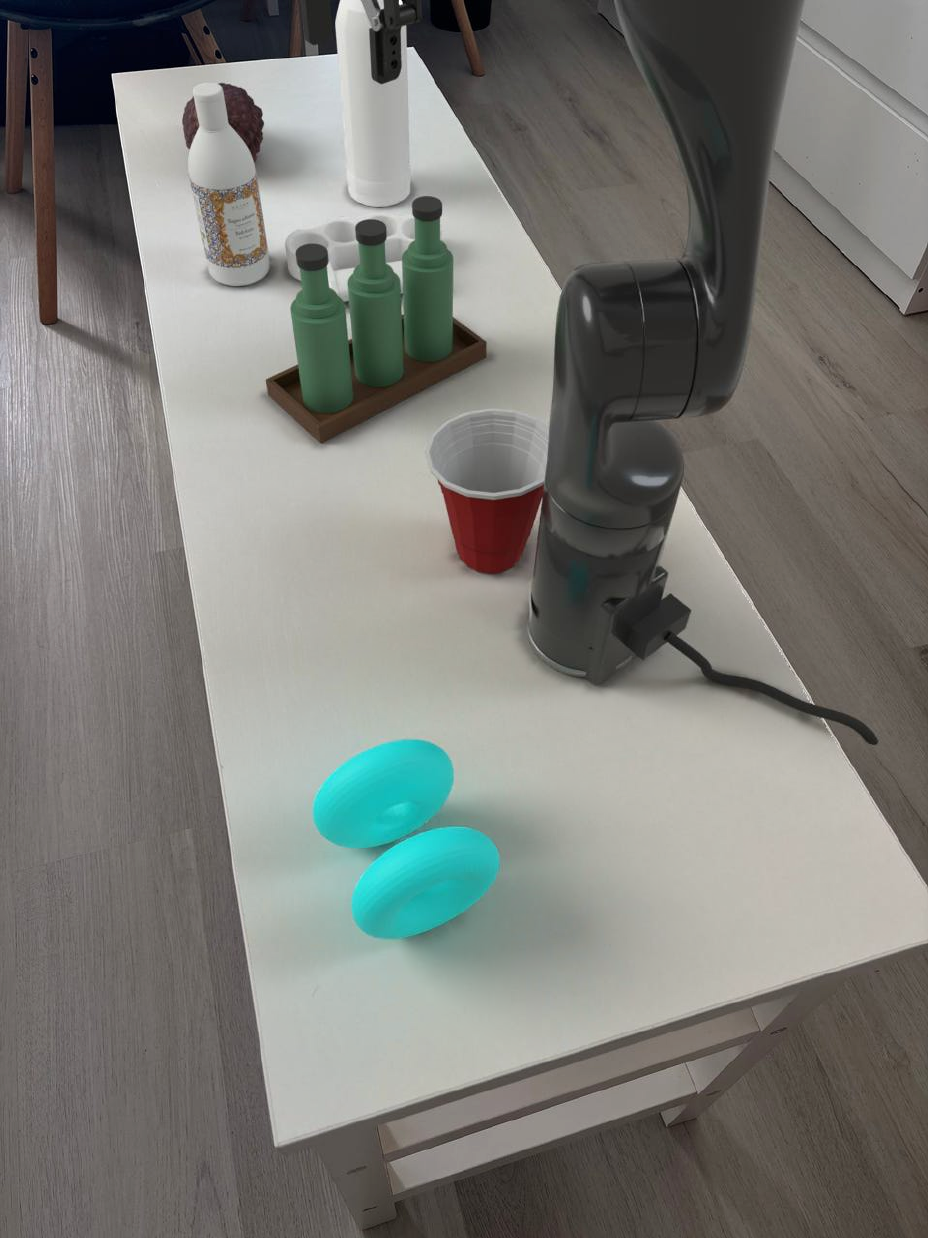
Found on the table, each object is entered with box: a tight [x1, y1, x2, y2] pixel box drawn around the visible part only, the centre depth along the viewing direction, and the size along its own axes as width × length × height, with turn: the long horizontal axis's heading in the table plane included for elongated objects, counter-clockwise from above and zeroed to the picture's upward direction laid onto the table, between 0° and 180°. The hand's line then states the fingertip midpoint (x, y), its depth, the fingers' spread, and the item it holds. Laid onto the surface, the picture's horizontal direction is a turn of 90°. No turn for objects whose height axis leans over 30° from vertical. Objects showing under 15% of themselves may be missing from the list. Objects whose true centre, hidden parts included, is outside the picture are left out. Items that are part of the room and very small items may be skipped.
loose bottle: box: [289, 243, 353, 414], centre depth 91 cm, size 5×5×16 cm
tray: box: [265, 313, 488, 444], centre depth 100 cm, size 9×21×2 cm, turn 130°
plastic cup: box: [424, 407, 549, 575], centre depth 82 cm, size 11×11×12 cm
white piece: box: [284, 212, 443, 303], centre depth 111 cm, size 3×18×15 cm
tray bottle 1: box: [347, 219, 404, 387], centre depth 94 cm, size 5×5×16 cm
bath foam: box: [187, 82, 271, 287], centre depth 104 cm, size 7×7×20 cm
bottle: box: [334, 0, 412, 208], centre depth 111 cm, size 8×8×30 cm
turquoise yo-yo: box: [312, 738, 501, 940], centre depth 64 cm, size 10×10×10 cm
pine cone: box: [181, 82, 265, 164], centre depth 124 cm, size 18×10×10 cm
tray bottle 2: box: [402, 195, 454, 362], centre depth 97 cm, size 5×5×16 cm
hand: (351, 60), depth 75 cm, fingers open, 8 cm apart
